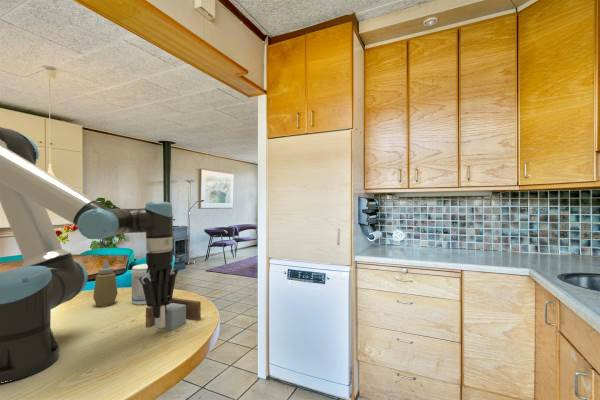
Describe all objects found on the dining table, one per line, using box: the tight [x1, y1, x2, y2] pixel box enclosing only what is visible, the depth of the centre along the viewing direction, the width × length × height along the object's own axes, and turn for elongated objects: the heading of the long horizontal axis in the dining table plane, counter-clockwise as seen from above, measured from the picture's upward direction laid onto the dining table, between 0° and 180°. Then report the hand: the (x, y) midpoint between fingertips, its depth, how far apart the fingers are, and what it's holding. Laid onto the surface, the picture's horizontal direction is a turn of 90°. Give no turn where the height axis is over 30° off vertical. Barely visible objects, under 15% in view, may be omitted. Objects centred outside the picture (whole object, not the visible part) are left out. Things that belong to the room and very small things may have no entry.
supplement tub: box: [131, 263, 151, 306], centre depth 116 cm, size 10×10×15 cm
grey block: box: [161, 303, 187, 331], centre depth 92 cm, size 6×6×6 cm
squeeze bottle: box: [93, 258, 118, 307], centre depth 113 cm, size 8×8×18 cm
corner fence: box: [145, 297, 202, 328], centre depth 94 cm, size 11×13×6 cm
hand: (160, 326), depth 87 cm, fingers closed
